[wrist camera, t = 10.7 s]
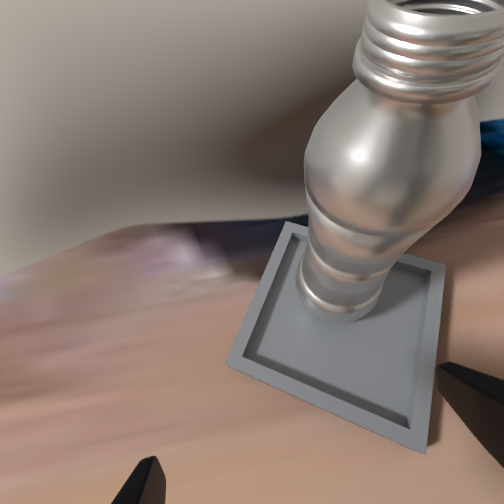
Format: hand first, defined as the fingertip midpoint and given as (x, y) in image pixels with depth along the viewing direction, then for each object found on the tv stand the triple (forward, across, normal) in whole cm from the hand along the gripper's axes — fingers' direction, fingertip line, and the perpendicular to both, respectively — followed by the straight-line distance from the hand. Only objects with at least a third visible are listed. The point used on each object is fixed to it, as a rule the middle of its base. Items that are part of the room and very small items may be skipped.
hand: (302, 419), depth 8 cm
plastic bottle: (+15, -7, +4) cm, 16 cm away
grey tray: (+13, -6, +6) cm, 16 cm away
